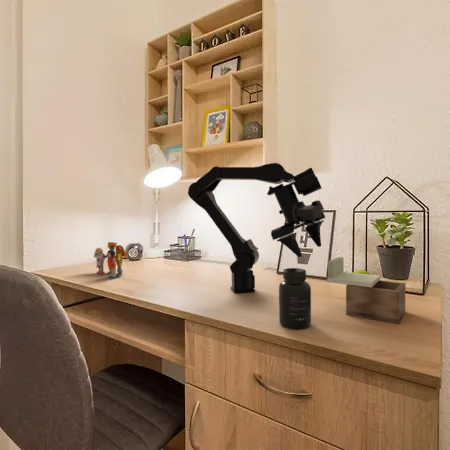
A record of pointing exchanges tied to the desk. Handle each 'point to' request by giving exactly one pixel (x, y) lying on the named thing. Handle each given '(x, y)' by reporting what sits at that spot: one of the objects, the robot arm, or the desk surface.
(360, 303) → the pencil box
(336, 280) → the lid
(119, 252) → the doll family
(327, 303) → the desk surface
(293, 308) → the supplement bottle
